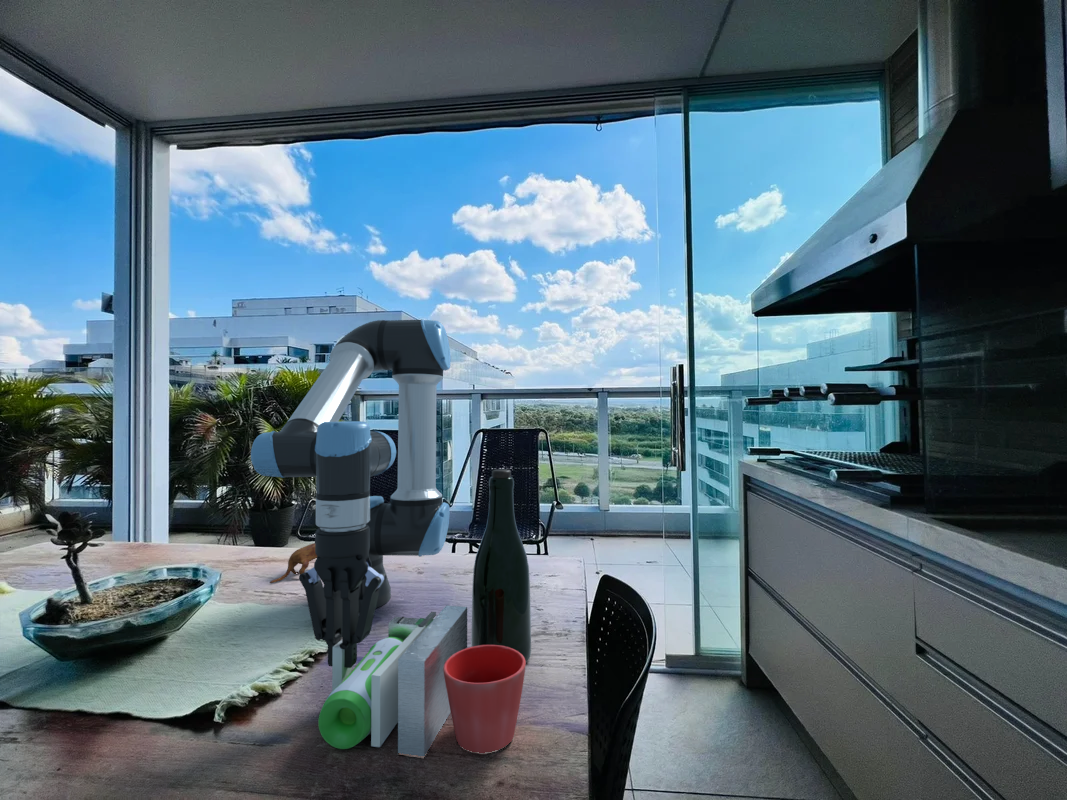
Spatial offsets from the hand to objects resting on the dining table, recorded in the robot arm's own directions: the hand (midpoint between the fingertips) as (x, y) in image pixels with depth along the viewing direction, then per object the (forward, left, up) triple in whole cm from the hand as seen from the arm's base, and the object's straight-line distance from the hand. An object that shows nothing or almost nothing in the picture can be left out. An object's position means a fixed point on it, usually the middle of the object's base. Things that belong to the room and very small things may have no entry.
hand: (342, 687), depth 72 cm
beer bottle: (+20, +18, -3) cm, 27 cm away
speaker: (+5, 0, -3) cm, 6 cm away
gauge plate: (+9, +3, -3) cm, 10 cm away
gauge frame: (+9, +2, -3) cm, 10 cm away
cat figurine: (-43, +52, -3) cm, 68 cm away
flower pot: (+22, -2, -3) cm, 23 cm away
